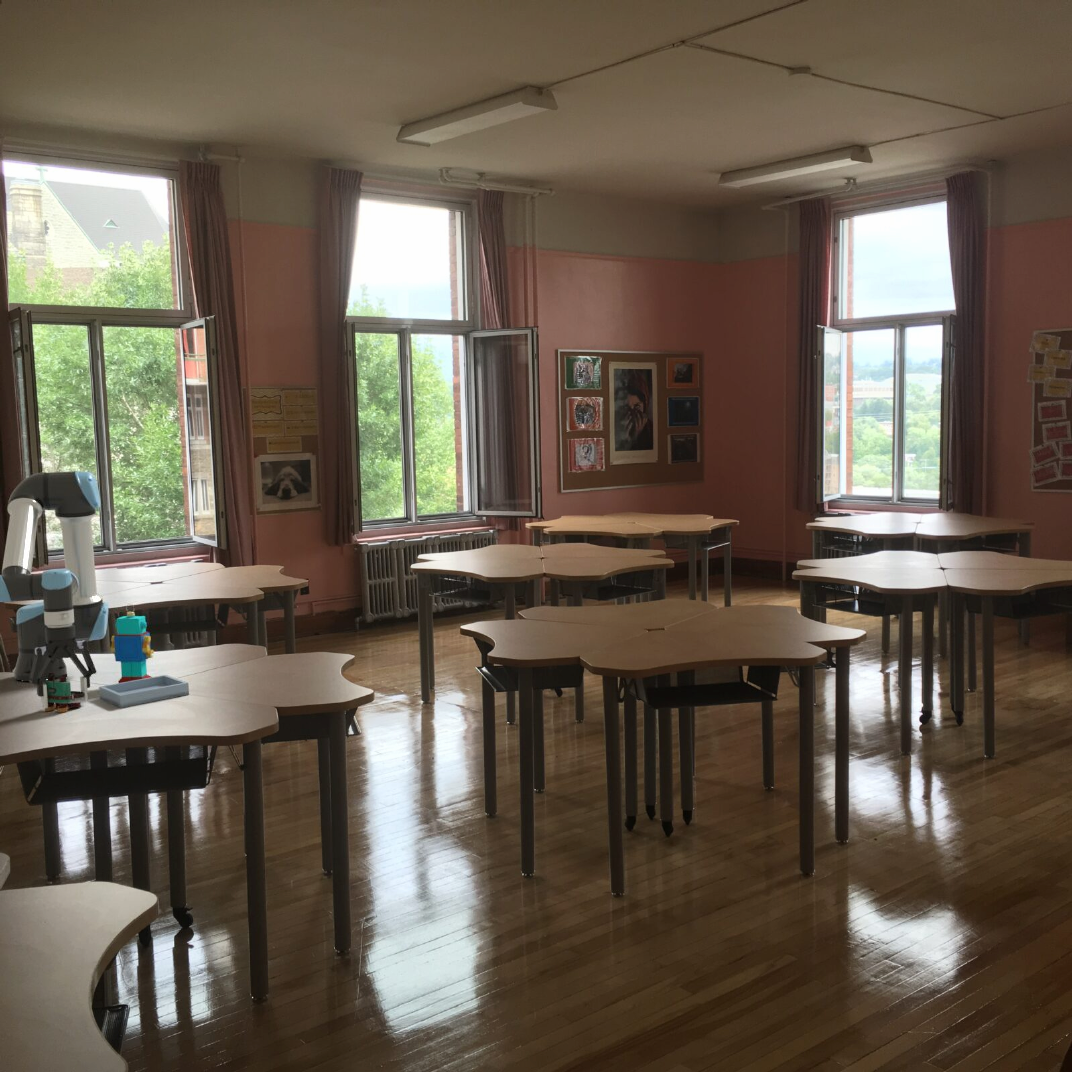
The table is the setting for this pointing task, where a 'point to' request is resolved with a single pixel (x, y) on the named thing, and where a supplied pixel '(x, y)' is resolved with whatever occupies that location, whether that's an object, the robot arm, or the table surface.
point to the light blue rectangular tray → (143, 691)
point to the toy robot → (132, 647)
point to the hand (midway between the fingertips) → (65, 703)
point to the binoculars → (61, 693)
